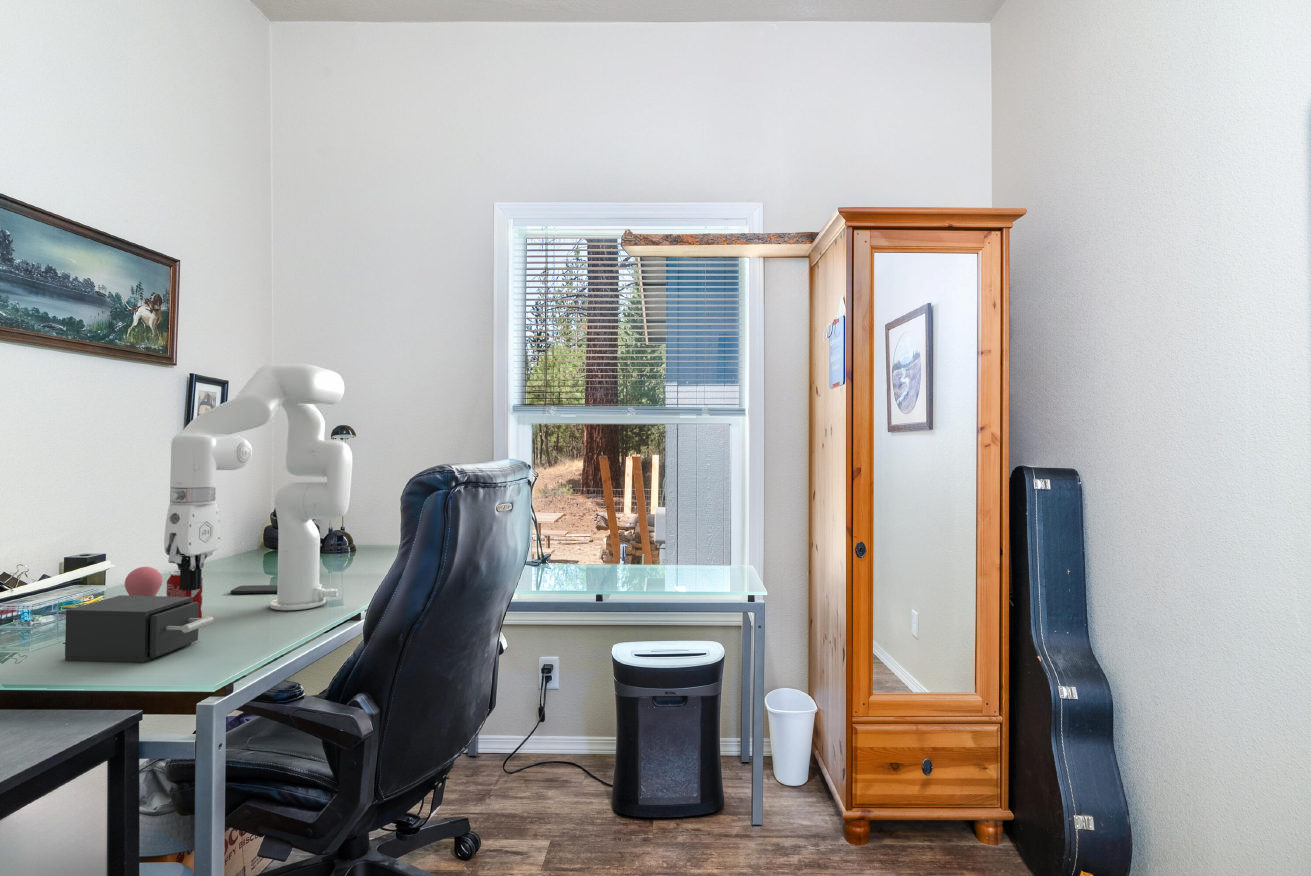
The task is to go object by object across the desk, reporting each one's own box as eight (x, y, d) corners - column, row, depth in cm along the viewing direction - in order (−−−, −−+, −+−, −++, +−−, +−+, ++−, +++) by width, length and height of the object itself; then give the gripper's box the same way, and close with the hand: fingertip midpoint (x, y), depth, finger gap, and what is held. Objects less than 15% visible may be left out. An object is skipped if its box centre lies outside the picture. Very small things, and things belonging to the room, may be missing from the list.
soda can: (183, 629, 152) (184, 575, 152) (158, 627, 153) (159, 573, 153) (209, 621, 159) (210, 569, 159) (184, 619, 160) (185, 568, 160)
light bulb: (116, 619, 159) (117, 568, 159) (149, 612, 166) (150, 563, 166) (136, 623, 157) (137, 570, 157) (168, 616, 163) (169, 565, 163)
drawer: (220, 640, 141) (221, 602, 141) (180, 657, 130) (180, 616, 130) (129, 638, 142) (130, 600, 142) (81, 655, 130) (82, 614, 131)
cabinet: (192, 643, 142) (192, 596, 142) (144, 662, 129) (145, 611, 129) (119, 641, 143) (120, 595, 143) (64, 660, 130) (65, 609, 130)
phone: (288, 590, 189) (229, 591, 186) (288, 593, 189) (228, 594, 186) (297, 584, 196) (240, 585, 193) (297, 587, 196) (240, 588, 193)
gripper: (184, 499, 128) (181, 598, 128) (235, 494, 143) (233, 582, 143) (145, 498, 128) (142, 597, 128) (200, 493, 143) (198, 581, 143)
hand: (190, 589), depth 135 cm, fingers closed
